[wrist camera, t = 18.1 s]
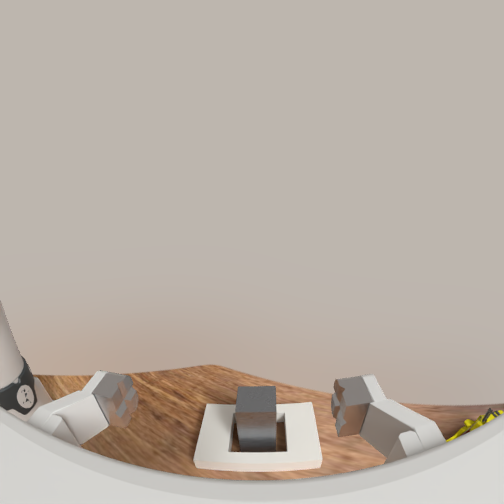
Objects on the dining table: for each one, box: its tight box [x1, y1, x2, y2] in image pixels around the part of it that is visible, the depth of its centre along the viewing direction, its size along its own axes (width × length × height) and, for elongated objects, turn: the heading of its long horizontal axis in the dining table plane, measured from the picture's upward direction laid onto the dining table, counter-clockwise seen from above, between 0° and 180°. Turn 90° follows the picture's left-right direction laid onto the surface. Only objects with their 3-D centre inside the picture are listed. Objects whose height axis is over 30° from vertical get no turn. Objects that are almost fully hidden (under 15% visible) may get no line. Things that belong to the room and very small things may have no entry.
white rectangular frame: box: [193, 402, 322, 472], centre depth 33 cm, size 17×12×2 cm
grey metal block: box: [235, 386, 277, 452], centre depth 32 cm, size 5×5×10 cm
